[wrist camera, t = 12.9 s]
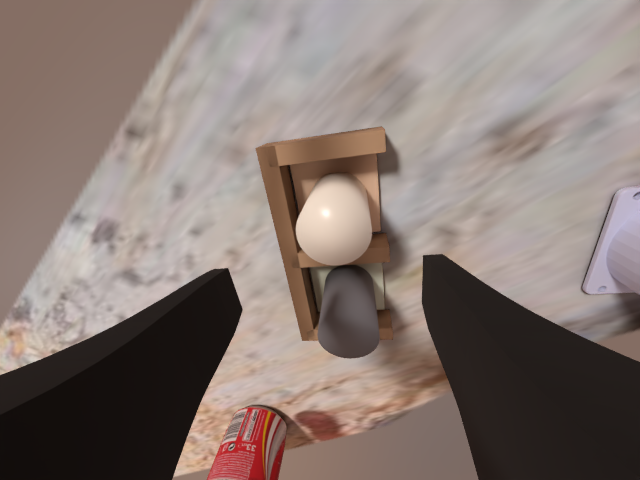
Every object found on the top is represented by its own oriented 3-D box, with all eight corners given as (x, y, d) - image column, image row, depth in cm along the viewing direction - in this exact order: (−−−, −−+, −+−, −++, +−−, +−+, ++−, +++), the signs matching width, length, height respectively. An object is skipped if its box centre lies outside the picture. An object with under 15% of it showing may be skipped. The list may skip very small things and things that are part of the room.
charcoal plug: (378, 298, 22) (386, 353, 17) (333, 307, 23) (329, 362, 18) (366, 259, 21) (370, 308, 16) (318, 271, 22) (308, 320, 17)
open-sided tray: (381, 126, 17) (385, 129, 15) (389, 319, 24) (392, 339, 22) (266, 143, 18) (255, 148, 16) (306, 322, 25) (302, 340, 23)
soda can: (276, 440, 35) (242, 585, 24) (227, 419, 34) (169, 561, 24) (299, 415, 32) (271, 570, 21) (245, 392, 31) (188, 541, 20)
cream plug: (371, 220, 19) (377, 259, 14) (318, 229, 20) (306, 270, 15) (362, 165, 18) (365, 189, 13) (304, 178, 18) (286, 204, 14)
